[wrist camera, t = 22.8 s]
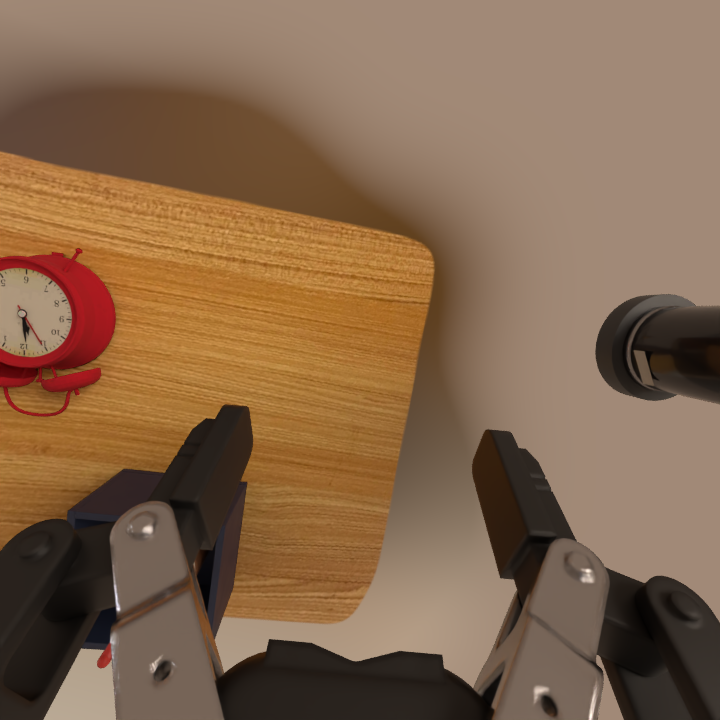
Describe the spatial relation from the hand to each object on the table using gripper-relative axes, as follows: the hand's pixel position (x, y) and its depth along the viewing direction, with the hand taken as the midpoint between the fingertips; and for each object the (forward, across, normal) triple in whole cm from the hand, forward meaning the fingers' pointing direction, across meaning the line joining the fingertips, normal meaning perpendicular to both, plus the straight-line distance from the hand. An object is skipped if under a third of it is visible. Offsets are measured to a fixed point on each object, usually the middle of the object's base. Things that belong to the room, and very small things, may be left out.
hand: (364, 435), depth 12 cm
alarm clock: (+19, +29, +9) cm, 36 cm away
